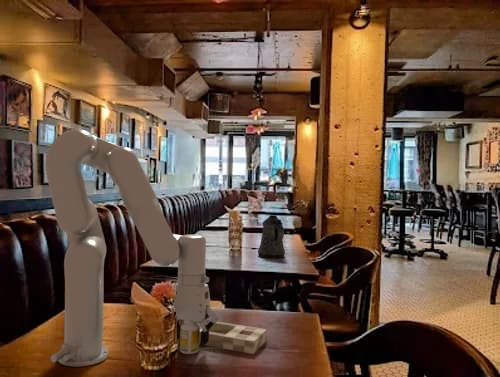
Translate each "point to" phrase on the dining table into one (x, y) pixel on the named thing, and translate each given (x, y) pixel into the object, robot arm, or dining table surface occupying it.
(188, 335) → the supplement bottle
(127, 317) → the dining table surface
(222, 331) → the socket block
